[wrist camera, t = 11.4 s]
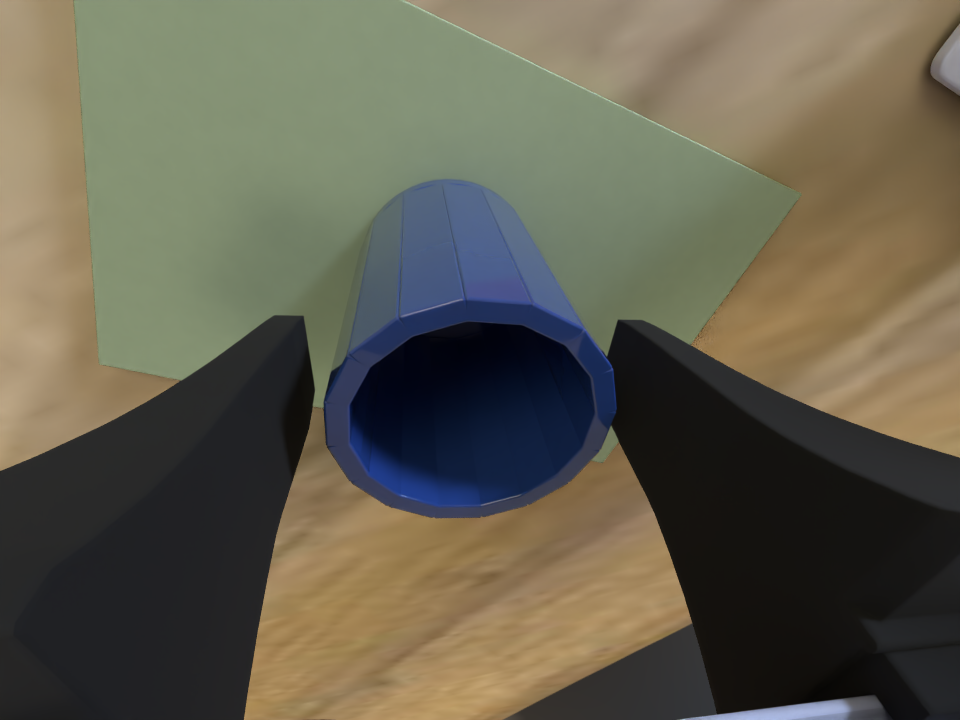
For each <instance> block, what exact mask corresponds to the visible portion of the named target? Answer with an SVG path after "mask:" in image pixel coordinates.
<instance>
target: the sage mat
mask: <svg viewBox="0 0 960 720" xmlns="http://www.w3.org/2000/svg"><path fill="white" fill-rule="evenodd" d="M74 14H75V28H76V43H77V57H78V72H79V86H80V100H81V115H82V129H83V143H84V158H85V172H86V186H87V201H88V215H89V229H90V244H91V258H92V272H93V287H94V301H95V315H96V330H97V344H98V359H99V364H100V365H105V366H110V367H115V368H121V369H126V370H131V371H136V372H141V373H146V374H151V375H156V376H161V377H166V378H172V379H177V380H183V379H185V378H186V377H188V376H189V375H191V374H192V373H194V372H195V371H197V370H198V369H200V368H201V367H203V366H204V365H206V364H207V363H209V362H210V361H212V360H213V359H215V358H216V357H217V356H219V355H220V354H221V353H223V352H224V351H225V350H227V349H228V348H230V347H231V346H232V345H234V344H235V343H236V342H238V341H239V340H240V339H242V338H243V337H244V336H246V335H247V334H248V333H250V332H251V331H252V330H254V329H255V328H256V327H258V326H259V325H261V324H262V323H263V322H265V321H266V320H268V319H269V318H271V317H272V316H274V315H293V316H304V321H305V327H306V334H307V340H308V346H309V353H310V359H311V366H312V372H313V379H314V385H315V395H314V401H313V406H314V407H319V408H324V405H323V402H324V398H325V393H326V389H327V385H328V381H329V377H330V373H331V368H332V364H333V360H334V356H335V352H336V348H337V343H338V339H339V335H340V331H341V327H342V323H343V318H344V314H345V310H346V306H347V302H348V298H349V293H350V289H351V285H352V281H353V277H354V273H355V269H356V264H357V260H358V256H359V252H360V249H361V246H362V244H363V242H364V238H365V236H366V233H367V230H368V228H369V226H370V224H371V223H372V221H373V219H374V217H375V216H376V215H377V214H378V212H379V211H380V210H381V208H382V207H383V206H384V205H385V204H386V203H388V202H389V201H390V200H391V199H392V198H394V197H395V196H396V195H398V194H399V193H401V192H403V191H404V190H406V189H408V188H410V187H412V186H415V185H418V184H420V183H424V182H428V181H433V180H443V179H453V180H463V181H468V182H472V183H475V184H478V185H481V186H484V187H486V188H488V189H490V190H492V191H494V192H495V193H497V194H498V195H499V196H501V197H502V198H504V199H505V200H506V201H507V202H508V203H509V204H510V205H511V206H512V207H513V208H514V209H515V211H516V212H517V213H518V214H519V216H520V217H521V219H522V221H523V222H524V224H525V225H526V226H527V228H528V229H529V231H530V232H531V234H532V235H533V237H534V239H535V240H536V242H537V243H538V245H539V247H540V248H541V250H542V252H543V253H544V255H545V257H546V258H547V260H548V261H549V263H550V265H551V266H552V268H553V270H554V271H555V273H556V275H557V276H558V278H559V279H560V281H561V283H562V284H563V286H564V288H565V289H566V291H567V293H568V294H569V296H570V297H571V299H572V301H573V302H574V304H575V306H576V307H577V309H578V311H579V312H580V314H581V315H582V317H583V319H584V320H585V322H586V324H587V325H588V327H589V329H590V330H591V332H592V333H593V335H594V337H595V338H596V340H597V342H598V343H599V345H600V347H601V348H602V350H603V352H604V353H605V355H606V356H607V355H608V351H609V348H610V345H611V341H612V338H613V334H614V331H615V327H616V324H617V321H618V320H644V321H646V322H648V323H651V324H653V325H655V326H657V327H659V328H661V329H662V330H664V331H666V332H668V333H670V334H672V335H673V336H675V337H677V338H679V339H680V340H682V341H684V342H686V343H687V344H689V345H691V343H692V342H693V341H694V339H695V338H696V337H697V335H698V334H699V332H700V331H701V330H702V328H703V327H704V326H705V324H706V323H707V322H708V320H709V319H710V318H711V316H712V315H713V314H714V312H715V311H716V310H717V308H718V307H719V306H720V304H721V303H722V301H723V300H724V299H725V297H726V296H727V295H728V293H729V292H730V291H731V289H732V288H733V287H734V285H735V284H736V283H737V281H738V280H739V279H740V277H741V276H742V275H743V273H744V272H745V270H746V269H747V268H748V266H749V265H750V264H751V262H752V261H753V260H754V258H755V257H756V256H757V254H758V253H759V252H760V250H761V249H762V248H763V246H764V245H765V244H766V242H767V241H768V239H769V238H770V237H771V235H772V234H773V233H774V231H775V230H776V229H777V227H778V226H779V225H780V223H781V222H782V221H783V219H784V218H785V217H786V215H787V214H788V213H789V211H790V210H791V208H792V207H793V206H794V204H795V203H796V202H797V200H798V199H799V198H800V196H801V195H802V194H801V193H799V192H797V191H795V190H793V189H791V188H789V187H787V186H785V185H783V184H781V183H779V182H777V181H775V180H772V179H770V178H768V177H766V176H764V175H762V174H760V173H758V172H756V171H754V170H752V169H750V168H748V167H746V166H744V165H742V164H740V163H737V162H735V161H733V160H731V159H729V158H727V157H725V156H723V155H721V154H719V153H717V152H715V151H713V150H711V149H709V148H707V147H705V146H703V145H700V144H698V143H696V142H694V141H692V140H690V139H688V138H686V137H684V136H682V135H680V134H678V133H676V132H674V131H672V130H670V129H668V128H666V127H663V126H661V125H659V124H657V123H655V122H653V121H651V120H649V119H647V118H645V117H643V116H641V115H639V114H637V113H635V112H633V111H631V110H628V109H626V108H624V107H622V106H620V105H618V104H616V103H614V102H612V101H610V100H608V99H606V98H604V97H602V96H600V95H598V94H596V93H594V92H591V91H589V90H587V89H585V88H583V87H581V86H579V85H577V84H575V83H573V82H571V81H569V80H567V79H565V78H563V77H561V76H559V75H557V74H554V73H552V72H550V71H548V70H546V69H544V68H542V67H540V66H538V65H536V64H534V63H532V62H530V61H528V60H526V59H524V58H522V57H519V56H517V55H515V54H513V53H511V52H509V51H507V50H505V49H503V48H501V47H499V46H497V45H495V44H493V43H491V42H489V41H487V40H485V39H482V38H480V37H478V36H476V35H474V34H472V33H470V32H468V31H466V30H464V29H462V28H460V27H458V26H456V25H454V24H452V23H450V22H448V21H445V20H443V19H441V18H439V17H437V16H435V15H433V14H431V13H429V12H427V11H425V10H423V9H421V8H419V7H417V6H415V5H413V4H410V3H408V2H406V1H404V0H74ZM618 442H619V441H618V439H617V436H616V434H615V432H614V430H613V428H612V426H611V427H610V429H609V432H608V434H607V436H606V439H605V441H604V444H603V446H602V448H601V450H600V451H599V453H598V454H597V455H596V456H595V457H594V458H593V459H592V460H591V461H595V462H600V463H603V462H604V460H605V459H606V458H607V456H608V455H609V454H610V452H611V451H612V450H613V448H614V447H615V446H616V444H617V443H618Z"/></svg>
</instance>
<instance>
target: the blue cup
mask: <svg viewBox="0 0 960 720" xmlns="http://www.w3.org/2000/svg"><path fill="white" fill-rule="evenodd" d="M323 405H324V422H325V439H326V445H327V448H328V449H329V451H330V453H331V454H332V456H333V457H334V459H335V460H336V462H337V463H338V465H339V466H340V468H341V469H342V471H343V472H344V474H345V475H346V477H347V478H348V480H349V481H350V482H351V483H352V484H353V485H355V486H356V487H358V488H360V489H361V490H363V491H364V492H366V493H367V494H369V495H371V496H372V497H374V498H375V499H377V500H378V501H380V502H381V503H383V504H385V505H386V506H389V507H391V508H395V509H399V510H403V511H407V512H411V513H415V514H418V515H422V516H426V517H430V518H433V517H434V518H480V517H481V516H482V517H486V516H490V515H494V514H498V513H502V512H506V511H509V510H513V509H517V508H521V507H525V506H527V504H528V505H530V504H532V503H534V502H536V501H537V500H539V499H541V498H543V497H545V496H546V495H548V494H550V493H552V492H554V491H555V490H557V489H559V488H561V487H563V486H564V485H566V484H568V482H570V481H572V480H573V479H574V477H575V476H576V475H577V474H578V473H579V472H580V471H581V470H582V469H583V468H584V467H585V466H586V465H587V464H588V463H589V462H590V461H591V460H592V459H593V458H594V457H595V456H596V455H597V454H598V453H599V451H600V450H601V448H602V446H603V444H604V441H605V439H606V436H607V434H608V432H609V429H610V427H611V424H612V422H613V419H614V417H615V415H616V410H617V404H616V393H615V382H614V371H613V368H612V365H611V363H610V361H609V360H608V358H607V356H606V355H605V353H604V352H603V350H602V348H601V347H600V345H599V343H598V342H597V340H596V338H595V337H594V335H593V333H592V332H591V330H590V329H589V327H588V325H587V324H586V322H585V320H584V319H583V317H582V315H581V314H580V312H579V311H578V309H577V307H576V306H575V304H574V302H573V301H572V299H571V297H570V296H569V294H568V293H567V291H566V289H565V288H564V286H563V284H562V283H561V281H560V279H559V278H558V276H557V275H556V273H555V271H554V270H553V268H552V266H551V265H550V263H549V261H548V260H547V258H546V257H545V255H544V253H543V252H542V250H541V248H540V247H539V245H538V243H537V242H536V240H535V239H534V237H533V235H532V234H531V232H530V231H529V229H528V228H527V226H526V225H525V224H524V222H523V221H522V219H521V217H520V216H519V214H518V213H517V212H516V211H515V209H514V208H513V207H512V206H511V205H510V204H509V203H508V202H507V201H506V200H505V199H504V198H502V197H501V196H499V195H498V194H497V193H495V192H494V191H492V190H490V189H488V188H486V187H484V186H481V185H478V184H475V183H472V182H468V181H463V180H453V179H443V180H433V181H428V182H424V183H420V184H418V185H415V186H412V187H410V188H408V189H406V190H404V191H403V192H401V193H399V194H398V195H396V196H395V197H394V198H392V199H391V200H390V201H389V202H388V203H386V204H385V205H384V206H383V207H382V208H381V210H380V211H379V212H378V214H377V215H376V216H375V217H374V219H373V221H372V223H371V224H370V226H369V228H368V230H367V233H366V236H365V238H364V242H363V244H362V246H361V249H360V252H359V256H358V260H357V264H356V269H355V273H354V277H353V281H352V285H351V289H350V293H349V298H348V302H347V306H346V310H345V314H344V318H343V323H342V327H341V331H340V335H339V339H338V343H337V348H336V352H335V356H334V360H333V364H332V368H331V373H330V377H329V381H328V385H327V389H326V393H325V398H324V402H323Z"/></svg>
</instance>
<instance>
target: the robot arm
mask: <svg viewBox="0 0 960 720" xmlns="http://www.w3.org/2000/svg"><path fill="white" fill-rule="evenodd" d="M931 75H932V77H933V78H934V79H935V80H937V81H938V82H940V83H941V84H943V85H944V86H946V87H947V88H949V89H950V90H952V91H953V92H955V93H956V94H957V95H959V96H960V24H959V25H958V26H957V28H956V29H955V30H954V32H953V33H952V34H951V35H950V37H949V38H948V39H947V41H946V42H945V43H944V45H943V46H942V47H941V48H940V50H939V51H938V52H937V54H936V56H935V57H934V59H933V61H932V64H931ZM607 358H608V360H609V361H610V363H611V365H612V368H613V371H614V382H615V393H616V404H617V410H616V415H615V417H614V419H613V422H612V424H611V426H612V428H613V430H614V432H615V434H616V436H617V439H618V441H619V443H620V445H621V447H622V449H623V451H624V453H625V455H626V456H627V458H628V460H629V462H630V464H631V466H632V468H633V470H634V472H635V474H636V476H637V478H638V480H639V482H640V484H641V486H642V488H643V490H644V492H645V494H646V496H647V498H648V500H649V502H650V505H651V507H652V509H653V511H654V513H655V516H656V518H657V521H658V524H659V526H660V529H661V532H662V534H663V537H664V540H665V542H666V545H667V548H668V550H669V553H670V556H671V559H672V562H673V565H674V568H675V570H676V573H677V576H678V579H679V582H680V585H681V588H682V591H683V594H684V597H685V600H686V604H687V607H688V610H689V613H690V617H691V620H692V623H693V627H694V630H695V633H696V637H697V640H698V643H699V646H700V650H701V654H702V658H703V661H704V665H705V668H706V673H707V676H708V680H709V684H710V688H711V692H712V695H713V699H714V703H715V707H716V711H717V715H711V716H703V717H695V718H687V719H679V720H960V458H959V457H955V456H952V455H949V454H945V453H942V452H939V451H935V450H932V449H929V448H925V447H922V446H919V445H915V444H912V443H909V442H906V441H903V440H900V439H897V438H894V437H891V436H887V435H884V434H881V433H879V432H876V431H873V430H870V429H868V428H865V427H862V426H859V425H857V424H854V423H851V422H848V421H846V420H843V419H840V418H838V417H835V416H833V415H830V414H828V413H825V412H822V411H820V410H818V409H815V408H813V407H811V406H808V405H806V404H804V403H802V402H799V401H797V400H795V399H792V398H790V397H788V396H786V395H783V394H781V393H779V392H777V391H775V390H773V389H771V388H769V387H766V386H764V385H763V384H761V383H759V382H757V381H755V380H753V379H751V378H749V377H747V376H745V375H743V374H741V373H739V372H737V371H735V370H734V369H732V368H730V367H728V366H726V365H724V364H723V363H721V362H719V361H717V360H715V359H714V358H712V357H710V356H708V355H707V354H705V353H703V352H701V351H700V350H698V349H696V348H694V347H693V346H691V345H689V344H687V343H686V342H684V341H682V340H680V339H679V338H677V337H675V336H673V335H672V334H670V333H668V332H666V331H664V330H662V329H661V328H659V327H657V326H655V325H653V324H651V323H648V322H646V321H644V320H618V321H617V324H616V327H615V331H614V334H613V338H612V341H611V345H610V348H609V351H608V355H607ZM314 395H315V385H314V379H313V372H312V366H311V359H310V353H309V346H308V340H307V334H306V327H305V321H304V316H293V315H274V316H272V317H271V318H269V319H268V320H266V321H265V322H263V323H262V324H261V325H259V326H258V327H256V328H255V329H254V330H252V331H251V332H250V333H248V334H247V335H246V336H244V337H243V338H242V339H240V340H239V341H238V342H236V343H235V344H234V345H232V346H231V347H230V348H228V349H227V350H225V351H224V352H223V353H221V354H220V355H219V356H217V357H216V358H215V359H213V360H212V361H210V362H209V363H207V364H206V365H204V366H203V367H201V368H200V369H198V370H197V371H195V372H194V373H192V374H191V375H189V376H188V377H186V378H185V379H183V380H182V381H180V382H179V383H177V384H175V385H174V386H172V387H171V388H169V389H168V390H166V391H164V392H163V393H161V394H160V395H158V396H156V397H154V398H153V399H151V400H149V401H148V402H146V403H144V404H142V405H140V406H139V407H137V408H135V409H133V410H131V411H129V412H128V413H126V414H124V415H122V416H120V417H118V418H116V419H115V420H113V421H111V422H109V423H107V424H105V425H103V426H101V427H99V428H96V429H94V430H92V431H90V432H88V433H86V434H84V435H81V436H79V437H77V438H75V439H73V440H71V441H68V442H66V443H64V444H62V445H60V446H58V447H56V448H53V449H51V450H49V451H47V452H45V453H43V454H40V455H38V456H36V457H34V458H31V459H29V460H26V461H24V462H22V463H19V464H17V465H14V466H12V467H9V468H7V469H5V470H2V471H0V720H244V714H245V707H246V700H247V693H248V687H249V681H250V675H251V669H252V663H253V657H254V651H255V644H256V638H257V632H258V627H259V621H260V616H261V610H262V605H263V599H264V594H265V589H266V583H267V578H268V573H269V568H270V563H271V558H272V553H273V548H274V543H275V538H276V534H277V530H278V527H279V523H280V519H281V515H282V512H283V509H284V506H285V503H286V500H287V497H288V493H289V490H290V487H291V484H292V481H293V478H294V475H295V471H296V468H297V465H298V462H299V459H300V456H301V452H302V449H303V446H304V443H305V440H306V436H307V433H308V430H309V425H310V420H311V414H312V408H313V401H314Z"/></svg>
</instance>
